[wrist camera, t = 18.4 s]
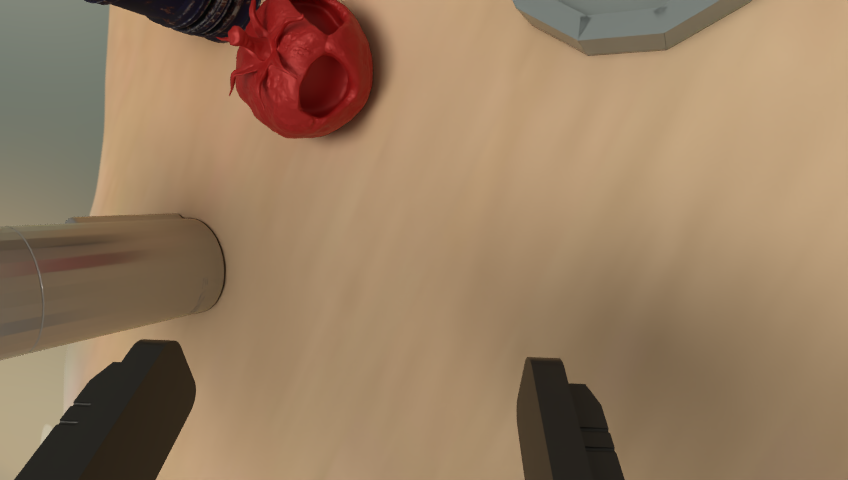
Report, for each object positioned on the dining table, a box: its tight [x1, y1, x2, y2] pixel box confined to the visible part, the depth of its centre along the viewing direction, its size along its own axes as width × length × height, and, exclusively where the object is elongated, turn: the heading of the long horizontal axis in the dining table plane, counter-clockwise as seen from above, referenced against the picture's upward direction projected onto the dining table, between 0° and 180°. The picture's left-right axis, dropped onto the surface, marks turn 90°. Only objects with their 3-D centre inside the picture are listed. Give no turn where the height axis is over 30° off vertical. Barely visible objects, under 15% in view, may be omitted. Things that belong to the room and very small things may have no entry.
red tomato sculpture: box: [216, 0, 373, 138], centre depth 32 cm, size 10×10×9 cm
